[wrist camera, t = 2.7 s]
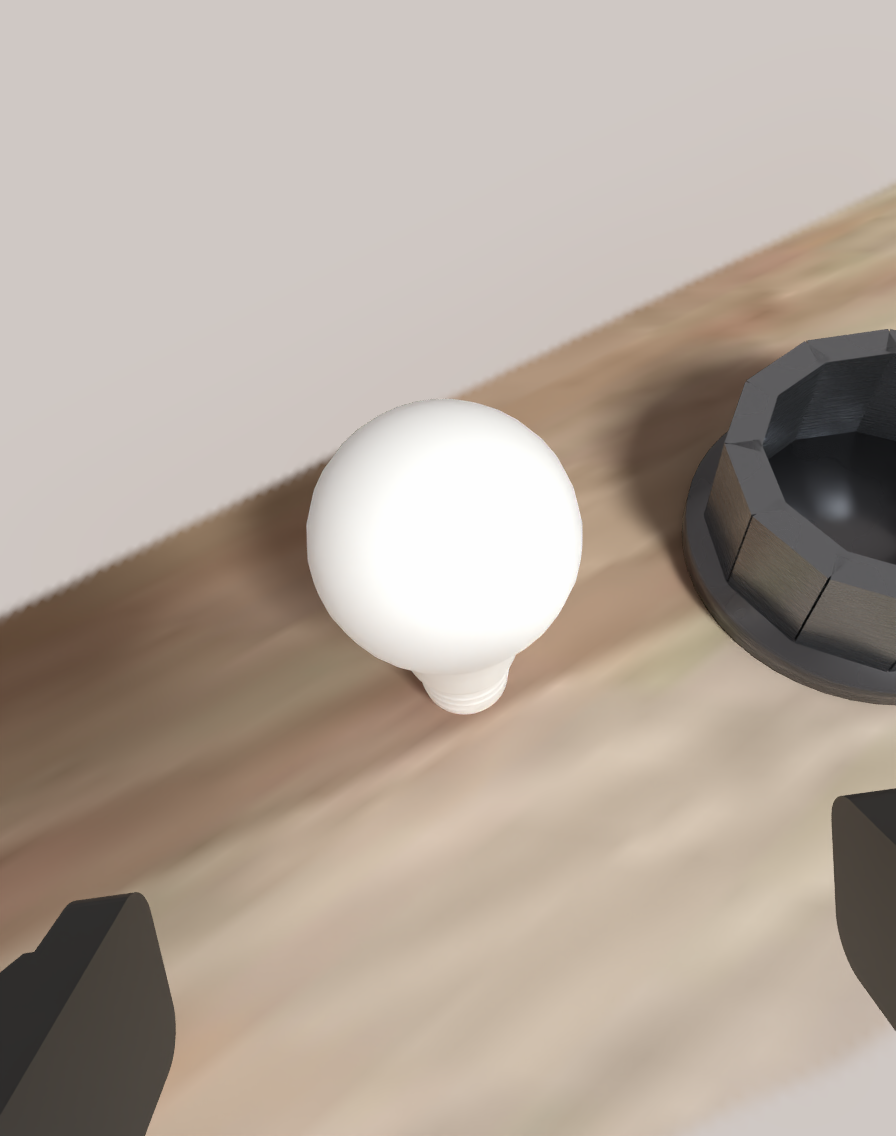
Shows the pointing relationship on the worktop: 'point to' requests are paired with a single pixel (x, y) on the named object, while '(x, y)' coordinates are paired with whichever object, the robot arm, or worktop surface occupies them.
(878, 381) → the socket holder
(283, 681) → the worktop surface
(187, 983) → the worktop surface
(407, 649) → the lightbulb
